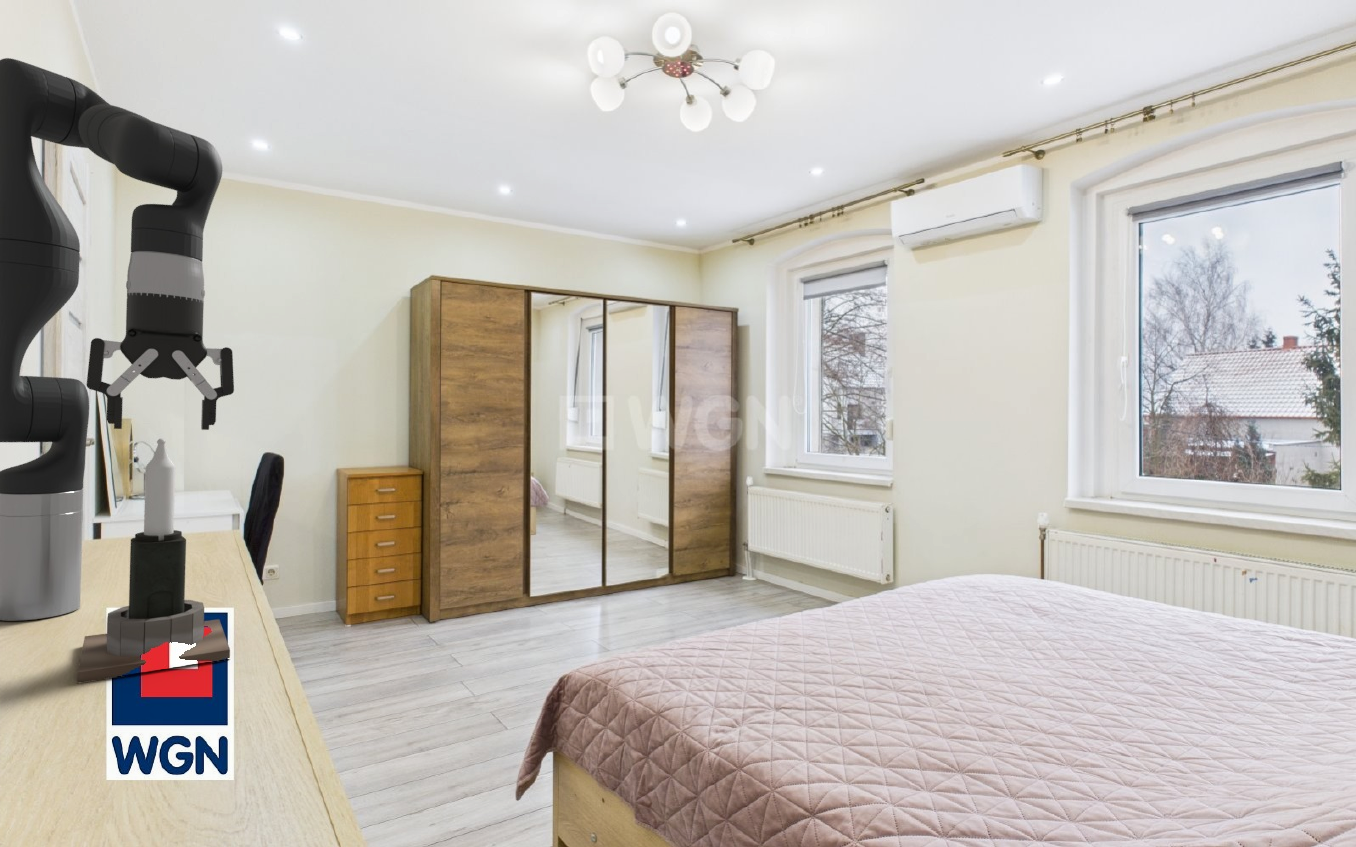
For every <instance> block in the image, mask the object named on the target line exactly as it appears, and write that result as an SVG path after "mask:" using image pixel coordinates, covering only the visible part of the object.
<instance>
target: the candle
mask: <svg viewBox="0 0 1356 847" xmlns="http://www.w3.org/2000/svg"><path fill="white" fill-rule="evenodd" d="M156 443H157V446H156V449H155V451H154V454H153V456H152V458H151V460H150V461H149V462H148V463H147V464H146V465H145V473H144V474H145V478H144V479H145V481H144V484H145V485H144V511H143V512H144V516H143V517H144V519H143V531H142V532H137V533H135V534H134V537H132V538H130V549H129V550H130V551H129V552H130V555H129V556H130V557H129V585H128V588H129V590H128V606H129V619H151V618H160V617H168V616H172V615H176V614H180V613H184V600H185V599H186V598H185V597H186V596H185V595H186V594H185V592H186V562H187V561H186V559H187V558H186V556H187V554H186V553H187V552H186V551H187V539H186V538H185V536H183V531H181V530H175V529H174V527H175V526H174V525H175V524H174V523H175V522H174V521H175V496H176V495H175V490H176V488H175V487H176V465H175V464H174V463H173V461H172V460H171V459H170V457H169V455H168V454H169V453H168V451H167V448H166V440H165V438H159V439H157V441H156Z"/></svg>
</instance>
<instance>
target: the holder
mask: <svg viewBox="0 0 1356 847" xmlns="http://www.w3.org/2000/svg"><path fill="white" fill-rule="evenodd" d="M204 626H208V627H210V628H211V631H212V632H211V633H209V634H208V635H206V636H204ZM203 636H204V638H203ZM165 642H168V643H170V642H171V643H172V642H178V643H185V644H188V645H189V644H190V645H192V644H194V643H196V646H195V647H193V648H191V649H190V650H187V651H185V652H184V654H182V655H181V656H179V658H180V659H185V660H197V661H217V662H220V661H219V660H222V659H226V658H230V659H231V657H230V656H231V650H230V646H229V643H228V640H227V637H226V634H225V632H224V629H223V626H222V624H221V620H220V619H219V618H218V619H211V620H205V605H204V603H203V602H202V601H196V600H192V599H184V613H180V614H176V615H172V616H168V617H160V618H151V619H129V605H127V606H122V607H120V608H117V609H115V610H112V611H110V612H108V613H107V618H106V633H100V634H94V635H93V634H92V635H85V636H84V639H83V643H82V647H81V648H82V649H81V651H80V652H81V653H80V656H79V657H80V658H79V663H78V667H77V671H76V684H82V683H89V682H94V681H95V682H96V681H100V680H106V679H112V678H113V679H115V678H118V677H117V676H121V677H123V676H122V675H123V674H126V673H129V672H130V671H131V670H134V669H135V668H138V667H140V666H141V665H144V664H145V663H146V661H145V660H141V658H140V655H142V654H145V653H147V652H149V651H150V650H151V648H155V647H158V646H160V645H162V644H163V643H165Z"/></svg>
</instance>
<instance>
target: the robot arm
mask: <svg viewBox="0 0 1356 847" xmlns="http://www.w3.org/2000/svg"><path fill="white" fill-rule="evenodd" d="M32 138H34V139H35V138H36V139H39V140H43V141H47V142H49V143H50V142H51V143H54V144H57V145H62V146H66V147H74V148H82V149H83V148H84V149H89V151H91V152H92V153H93V154H94V155H95V156H97V157H99V158H101V159H103V160H104V161H105V162H108V163H110V164H112V165H114V166H115V167H116V169H117V170H118V171H119V172H120V173H121V174H123V175H125V176H128V177H129V178H132V179H134V180H138V181H141V182H144V183H147V184H151V185H154V186H158V187H161V188H165V189H169V190H173V191H176V197H175V198H174V201H173V203H172V204H163V203H161V204H159V203H144V204H140V205H138V206H136V207H135V208H134V209H133V211H132V214H131V215H132V216H131V228H130V229H131V233H130V235H131V237H130V258H129V262H128V266H127V275H126V276H127V277H126V278H127V280H126V284H125V287H126V310H125V311H126V313H125V314H126V315H125V317H126V318H125V335H124V336H125V337H124V338H123V340H122V341H115V340H114V341H113V340H105V339H102V338H100V337H95V338H93V339H92V340H91V342H90V346H89V348H90V349H89V356H88V357H89V358H88V367H87V376H86V385H85V384H84V383H83V382H82V381H81V380H80V379H78V378H71V377H70V378H69V377H68V378H67V377H57V376H56V377H55V376H53V377H52V376H34V375H21V369H22V368H21V367H22V363H23V360H24V357H25V355H26V352H27V350H28V348H29V346H30V345H31V343H32V342H33V341H34V339H35V338H36V337H37V335H38V333H39V332H40V331H41V330H42V329H43V328H44V327H45V326H46V324H48V323H49V321H50V320H51V319H52V318H53V317H54V316H55V315H56V314H58V312H59V311H60V310H61V309H62V308H63V307H64V306H65V304H67V303H68V301H70V300H71V298H72V296H74V294H75V292H76V290H77V288H78V285H79V280H80V254H81V253H80V252H81V250H80V249H81V246H80V244H81V242H80V239H79V236H78V233H77V231H76V229H75V227H74V225H73V224H72V222H71V220H70V218H68V216H67V214H66V212H65V211H64V209H63V208H62V207H61V205H60V204H59V202H58V200H57V199H56V198H55V196H54V195H53V194H52V192H51V190H50V189H49V187H48V185H47V184H46V182H45V179H44V177H42V174H41V172H40V169H39V168H38V167H39V166H38V165H37V161H36V157H35V153H34V149H33V141H32ZM221 159H222V158H221V156H220V153H219V152H218V150H217V149H216V147H215V146H214V145H213V144H212V143H211V142H209V140H206V139H204V138H202V137H199V136H196V135H193V134H191V133H187V132H184V131H181V130H179V129H175V128H172V127H170V126H167V125H164V124H161V123H158V122H155V121H152V120H151V119H149V118H147V117H145V116H143V115H140V114H138V113H136V112H133V111H130V110H128V109H126V108H123V107H120V106H117V105H112V104H110V103H109V102H108V101H106V100H105V99H104V98H102V96H100V95H99V94H98V93H96V92H95V91H94V90H92V89H91V88H90V87H88V86H87V85H85V84H83V83H81V82H79V81H77V80H76V79H72V78H70V77H68V76H64V75H61V74H58V73H56V72H52V71H50V70H48V69H45V68H42V67H40V66H37V65H33V64H31V63H28V62H24V61H21V60H18V59H15V58H9V57H5V58H1V59H0V443H51V446H50V448H49V449H48V450H47V451H46V452H45V453H44V454H42V455H41V456H39V457H36V458H34V459H32V460H29V461H27V462H25V463H22V464H18V465H15V466H11V467H8V468H4V469H1V470H0V621H7V622H8V621H9V622H11V621H13V622H15V621H17V622H18V621H29V620H38V619H39V620H40V619H45V618H52V617H57V616H61V615H65V614H68V613H72V612H74V611H77V610H79V608H81V590H82V588H81V586H82V585H81V584H82V559H83V558H82V554H83V549H82V548H83V513H84V510H83V508H84V478H85V477H84V476H85V468H86V454H87V453H86V452H87V451H86V450H87V438H88V430H89V429H88V426H89V421H90V420H89V418H90V397H89V392H88V389H89V390H91V391H96V392H98V393H100V394H104V395H105V397H106V398H107V399H106V422H107V424H111V425H112V424H113V430H122V429H123V400H124V398H123V397H122V394H121V393H122V392H123V391H124V390H125V389H126V388H127V387H128V386H129V385H130V384H131V383H132V382H133V381H134V380H136V378H137V377H139V375H141V376H143V377H144V378H147V379H161V378H166V379H169V380H183V379H185V378H188V379H189V381H190V382H191V383H192V384H193V386H195V387H196V388H197V389H198V391H199V392H200V393H201V394H202V395H203V399H201V420H200V421H201V423H200V424H201V429H200V430H202V431H207V430H208V431H209V430H210V426H215V424H216V422H217V401H218V399H220V398H222V397H223V398H224V397H227V396H230V395H232V394H233V393H234V391H235V385H234V384H235V382H234V380H235V379H234V361H233V360H234V358H233V350H232V348H230V347H228V346H227V347H223V348H212V347H211V348H209V347H208V348H207V347H206V346H205V344H204V341H203V340H204V339H203V338H204V335H203V334H204V306H205V304H204V302H205V301H204V300H205V296H206V292H205V291H206V290H205V277H204V275H205V274H204V269H203V255H204V254H203V253H204V251H203V250H204V245H203V244H204V231H205V230H204V229H205V227H206V226H205V225H206V223H207V219H208V216H209V213H210V210H211V206H212V204H213V201H214V198H215V195H216V194H217V191H218V188H219V185H220V183H221V181H222V180H221V179H222V176H223V164H222V160H221ZM116 351H120V352H121V354H122V355H123V356H124V357H125V358H126V359H127V360H128V362H130V364H131V365H130V366H129V367H128V368H127V369H126V370H125V371H124V372H122V373H121V375H120V376H118V377H117V378H116V379H115V380H114V381H113V382H112V383H107V382H104V381H103V380H102V379H103V370H104V360H105V359H110V358H112V357H113V355H114V353H115V352H116ZM206 357H209V358H211V360H212V363H213V364H214V365H216V366H219V379H220V381H219V382H220V386H218V387H214V388H213V387H212V385H211V384H210V383H209V382H208V381H207V379H206V378H205V377H204V376H203V375H202V374H201V372H200V371H199V370H198V369H197V367H198V366H199V365H200V364H201V363H202V362H203V361H204V360H205V359H206ZM86 387H87V388H88V389H87V388H86Z"/></svg>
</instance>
